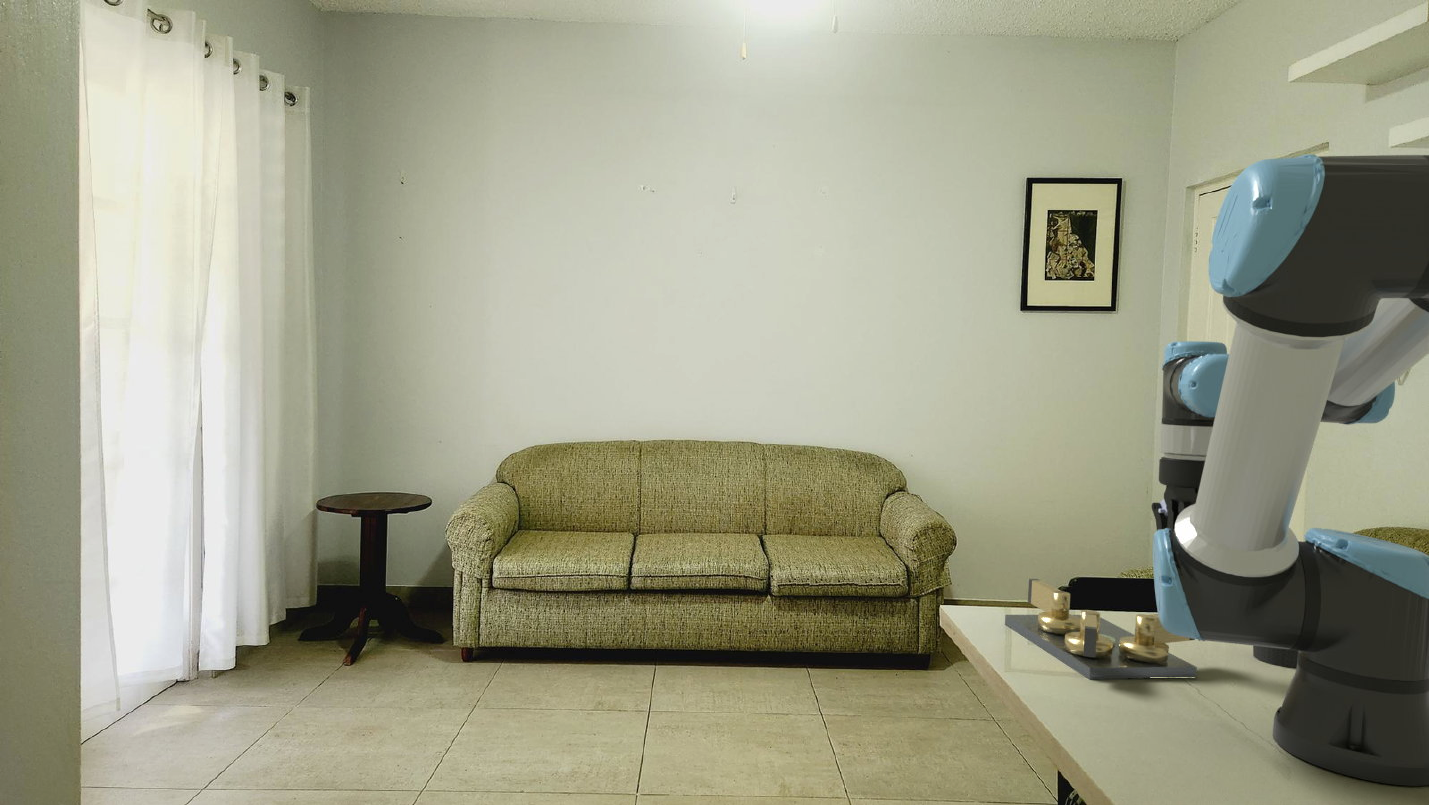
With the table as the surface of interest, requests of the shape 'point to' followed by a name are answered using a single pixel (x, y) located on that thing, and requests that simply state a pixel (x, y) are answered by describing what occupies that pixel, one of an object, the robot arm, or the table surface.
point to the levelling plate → (1099, 667)
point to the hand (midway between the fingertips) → (1182, 631)
